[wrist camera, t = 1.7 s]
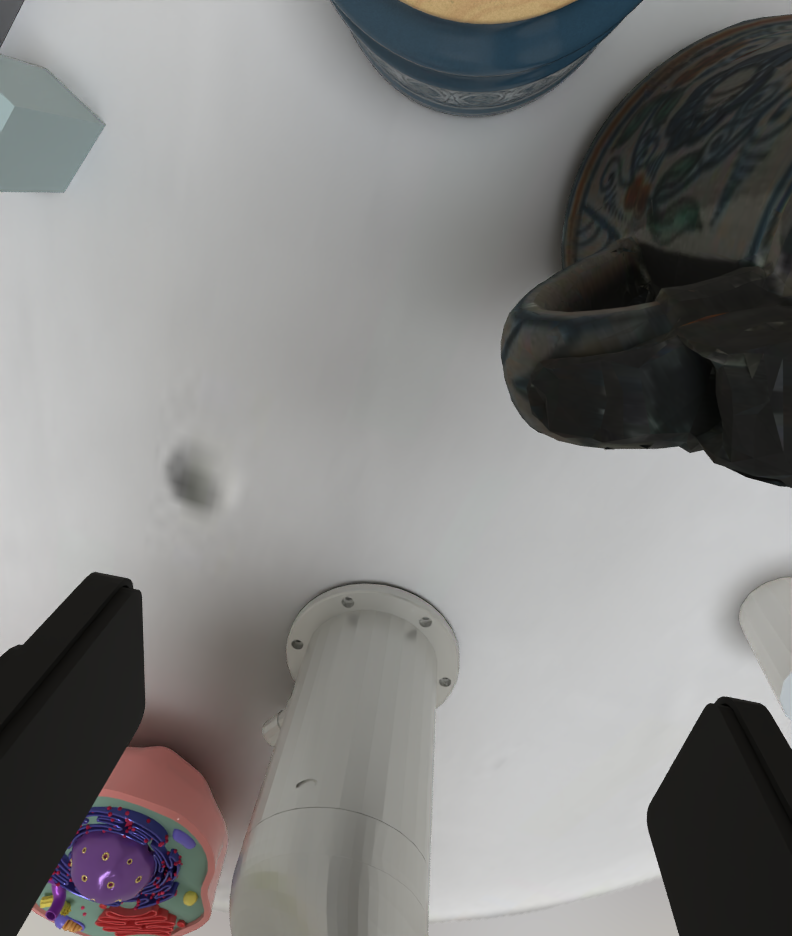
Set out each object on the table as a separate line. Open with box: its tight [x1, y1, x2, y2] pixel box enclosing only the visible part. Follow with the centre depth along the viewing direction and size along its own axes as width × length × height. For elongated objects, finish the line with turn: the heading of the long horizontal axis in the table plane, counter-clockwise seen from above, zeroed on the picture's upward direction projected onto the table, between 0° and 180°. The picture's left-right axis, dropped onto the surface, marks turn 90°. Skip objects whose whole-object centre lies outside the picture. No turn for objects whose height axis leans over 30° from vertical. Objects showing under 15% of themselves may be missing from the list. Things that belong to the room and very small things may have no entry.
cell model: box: [32, 746, 229, 936], centre depth 47 cm, size 17×20×11 cm
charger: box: [0, 54, 105, 193], centre depth 27 cm, size 4×4×8 cm
